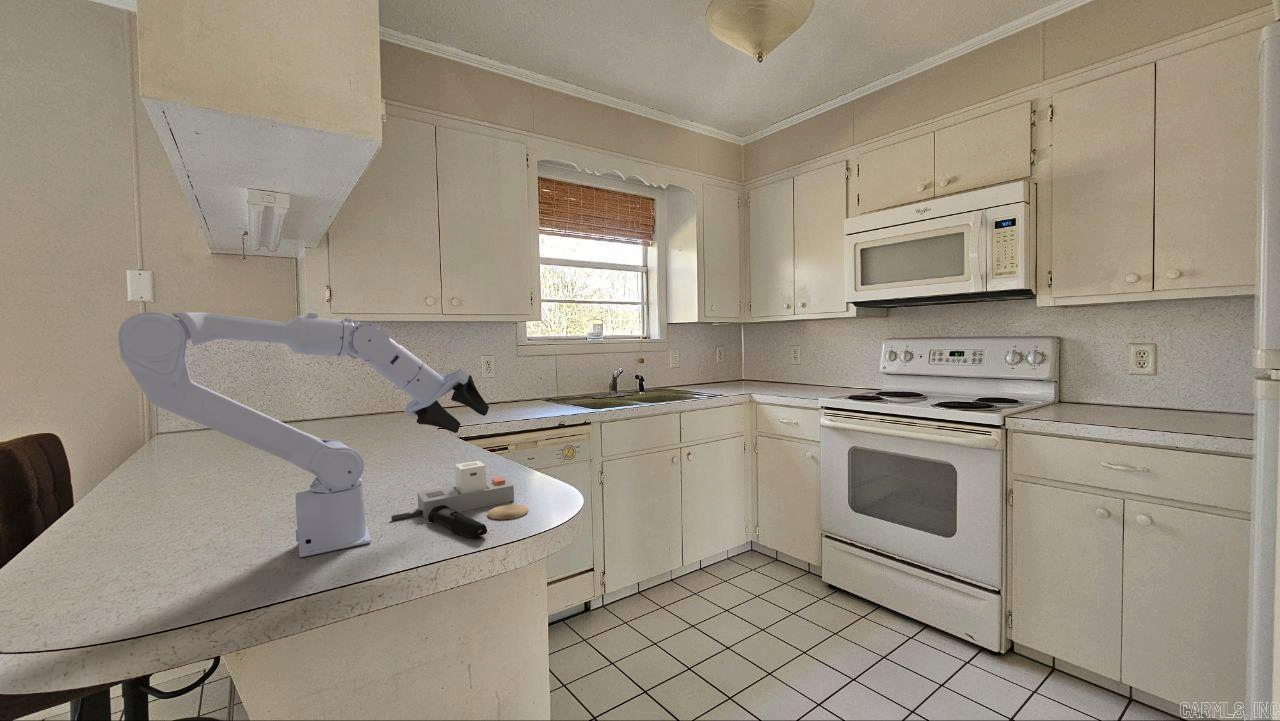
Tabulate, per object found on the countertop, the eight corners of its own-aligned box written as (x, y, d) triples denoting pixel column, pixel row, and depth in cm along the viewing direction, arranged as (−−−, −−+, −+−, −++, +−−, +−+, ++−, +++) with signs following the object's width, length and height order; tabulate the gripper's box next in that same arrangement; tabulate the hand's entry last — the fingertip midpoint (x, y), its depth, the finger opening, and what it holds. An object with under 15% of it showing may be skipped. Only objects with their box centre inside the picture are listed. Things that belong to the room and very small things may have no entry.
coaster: (494, 522, 92) (494, 520, 92) (483, 511, 98) (483, 509, 98) (534, 514, 95) (533, 512, 95) (521, 503, 101) (520, 501, 101)
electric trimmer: (471, 547, 83) (470, 527, 82) (425, 523, 93) (425, 505, 93) (493, 540, 85) (492, 520, 85) (446, 517, 96) (445, 499, 96)
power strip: (393, 525, 92) (392, 503, 92) (388, 513, 98) (387, 493, 98) (514, 501, 103) (513, 481, 103) (503, 492, 109) (502, 473, 109)
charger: (462, 499, 99) (460, 468, 99) (456, 492, 103) (455, 464, 103) (486, 494, 102) (485, 464, 101) (480, 488, 105) (479, 460, 105)
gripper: (446, 340, 92) (504, 387, 99) (393, 378, 98) (451, 420, 105) (433, 367, 87) (496, 415, 93) (378, 405, 92) (441, 448, 99)
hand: (472, 420), depth 99 cm, fingers open, 7 cm apart
